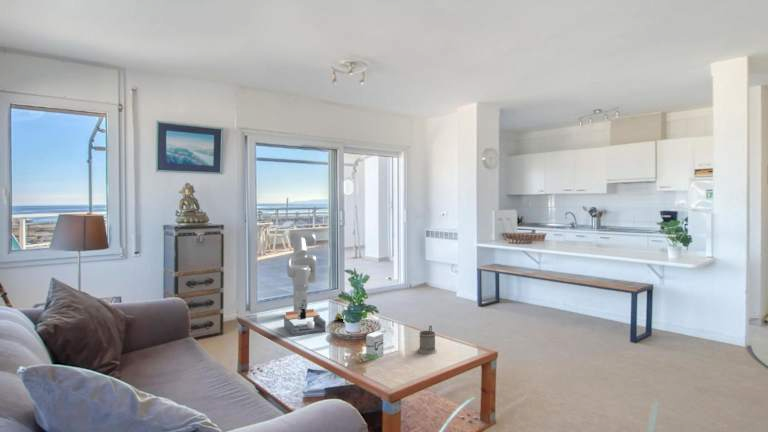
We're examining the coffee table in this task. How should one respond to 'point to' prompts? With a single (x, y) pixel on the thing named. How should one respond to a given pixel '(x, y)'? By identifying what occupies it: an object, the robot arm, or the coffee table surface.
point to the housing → (306, 327)
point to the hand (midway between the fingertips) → (302, 317)
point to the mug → (427, 342)
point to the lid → (294, 314)
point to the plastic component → (338, 316)
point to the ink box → (374, 345)
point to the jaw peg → (299, 314)
